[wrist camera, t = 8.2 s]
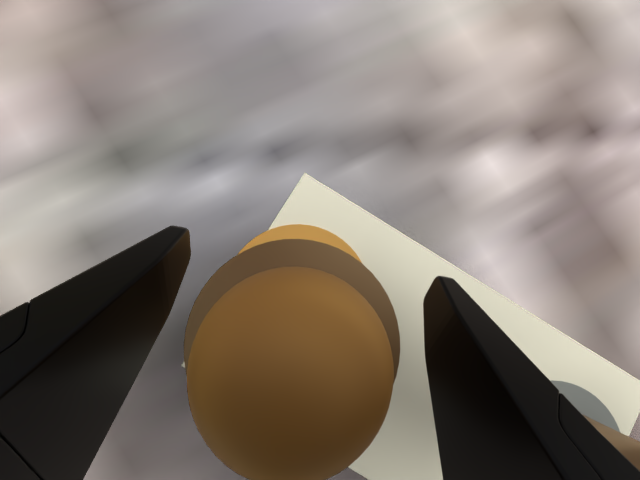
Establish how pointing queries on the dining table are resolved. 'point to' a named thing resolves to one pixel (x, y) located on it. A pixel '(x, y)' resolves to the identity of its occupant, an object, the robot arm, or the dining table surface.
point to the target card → (407, 300)
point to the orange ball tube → (291, 360)
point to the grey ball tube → (620, 442)
